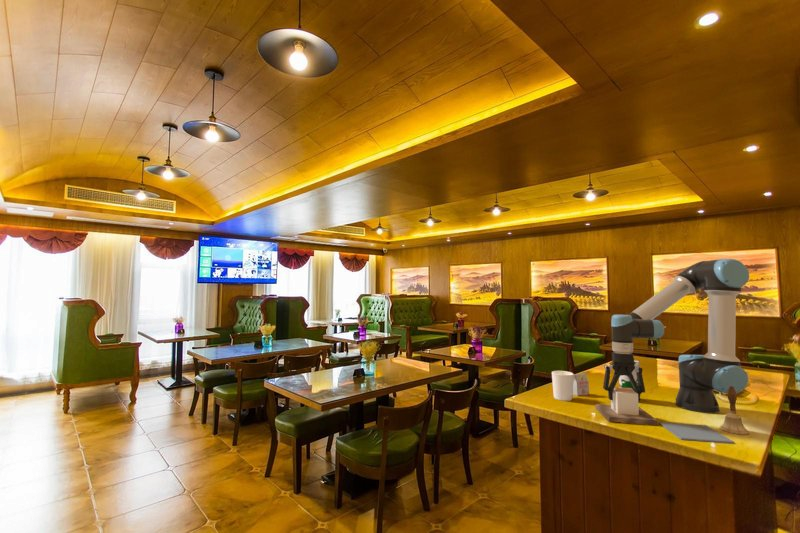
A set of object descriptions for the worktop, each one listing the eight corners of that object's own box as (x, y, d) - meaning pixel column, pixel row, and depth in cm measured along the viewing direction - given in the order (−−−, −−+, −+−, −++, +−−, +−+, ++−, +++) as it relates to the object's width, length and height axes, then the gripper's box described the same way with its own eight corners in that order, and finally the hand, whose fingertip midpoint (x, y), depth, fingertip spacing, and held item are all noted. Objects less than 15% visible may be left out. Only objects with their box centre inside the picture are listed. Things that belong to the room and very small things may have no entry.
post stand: (638, 411, 160) (638, 392, 160) (657, 425, 143) (656, 404, 143) (595, 408, 163) (595, 389, 163) (609, 422, 146) (608, 401, 147)
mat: (706, 426, 142) (706, 425, 142) (734, 443, 126) (734, 441, 126) (659, 423, 145) (658, 421, 145) (680, 439, 129) (680, 437, 129)
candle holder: (576, 402, 173) (576, 375, 173) (554, 400, 174) (553, 374, 175) (571, 396, 182) (570, 371, 183) (550, 394, 184) (549, 370, 185)
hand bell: (713, 426, 142) (711, 384, 143) (733, 426, 143) (731, 383, 144) (734, 435, 134) (732, 389, 135) (756, 434, 134) (753, 389, 135)
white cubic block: (631, 409, 156) (630, 386, 157) (638, 415, 149) (637, 391, 149) (611, 408, 158) (610, 385, 158) (617, 413, 150) (617, 390, 151)
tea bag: (572, 394, 186) (571, 373, 187) (583, 393, 188) (583, 372, 188) (577, 396, 182) (576, 375, 183) (589, 395, 184) (588, 374, 185)
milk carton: (619, 400, 175) (618, 357, 177) (620, 395, 183) (618, 354, 184) (641, 403, 171) (640, 359, 172) (641, 398, 178) (640, 356, 180)
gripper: (598, 352, 153) (600, 409, 152) (654, 354, 149) (656, 413, 147) (593, 350, 160) (594, 404, 159) (646, 351, 156) (648, 407, 155)
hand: (624, 408), depth 153 cm, fingers closed on white cubic block, 8 cm apart
